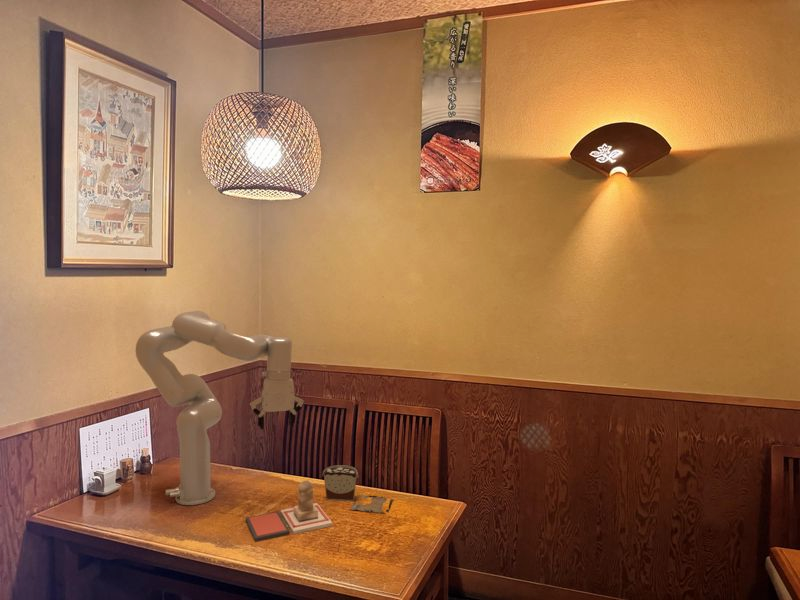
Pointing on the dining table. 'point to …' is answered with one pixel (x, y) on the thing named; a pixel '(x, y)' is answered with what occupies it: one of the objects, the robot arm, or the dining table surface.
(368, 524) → the dining table surface
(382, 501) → the parchment
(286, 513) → the marked board
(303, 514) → the stamp
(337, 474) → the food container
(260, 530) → the ink pad
